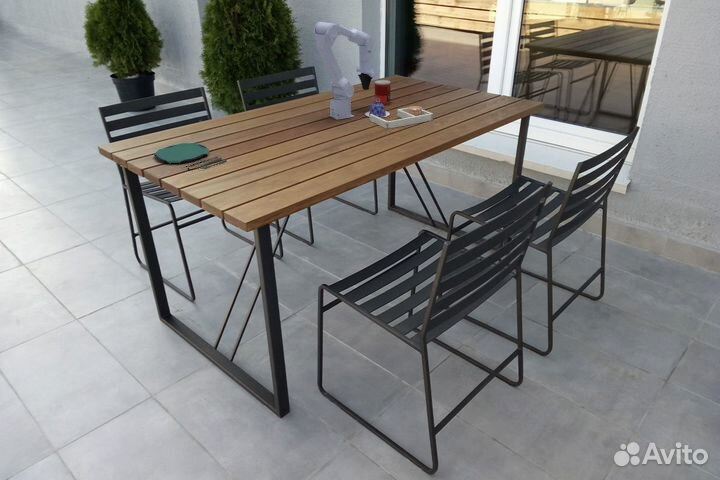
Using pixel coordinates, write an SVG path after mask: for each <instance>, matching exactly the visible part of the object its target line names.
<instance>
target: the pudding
mask: <svg viewBox="0 0 720 480" xmlns="http://www.w3.org/2000/svg"><path fill="white" fill-rule="evenodd" d="M370 114H373V115H375V116H377V117H379V118H381V119H382V118H386V117H388V116H390V112H389V111H387V110H386V109H385V105H383V104H379V103H376V104H375V103H372V104H371V105H370V109H369V111H367V112H365V113H364V115H365V117H366V116H367V117H369V118H370Z"/></svg>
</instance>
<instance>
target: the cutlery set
mask: <svg viewBox="0 0 720 480" xmlns="http://www.w3.org/2000/svg"><path fill="white" fill-rule="evenodd" d="M208 154H210V150H209V148H208V147H206V146H205V145H203V144H201V143H200V144H199V143H196V142H181V143H178V144H173V145H168V146H166V147H163V148H159V149H158V150H156V152H154V154H153V156H154V157H155V158H156V159H157V160H158V161H161V162H164V163H169V164H171V163H179V164H180V163H185V162H190V161H195V160H197V159H200V158H202V157H203V156H205V155H208ZM205 161H206V162H205ZM200 162H203V163H202V164H201V163H200ZM213 162H216V163H214V164H210V163H213ZM224 162H226V163H228V160H227V159H224V160H223V159H222V157H221V156H220V157H218V156H215V157H214V156H213V157H211V158H208V159H201V160H200V161H196V162H193V163H190V164H188V165H191V164H195V165H198V164H197V163H199V164H200V165H201V166H197V168H198V169H199V167H200V169H205V170H207V169H208V168H212V167H211V166H213V167H215V165H216V166H219V165H221V163H222V164H225V163H224ZM208 164H209V165H208ZM218 164H219V165H218ZM171 165H172V164H171ZM202 165H203V166H202ZM192 166H194V165H192Z"/></svg>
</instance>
